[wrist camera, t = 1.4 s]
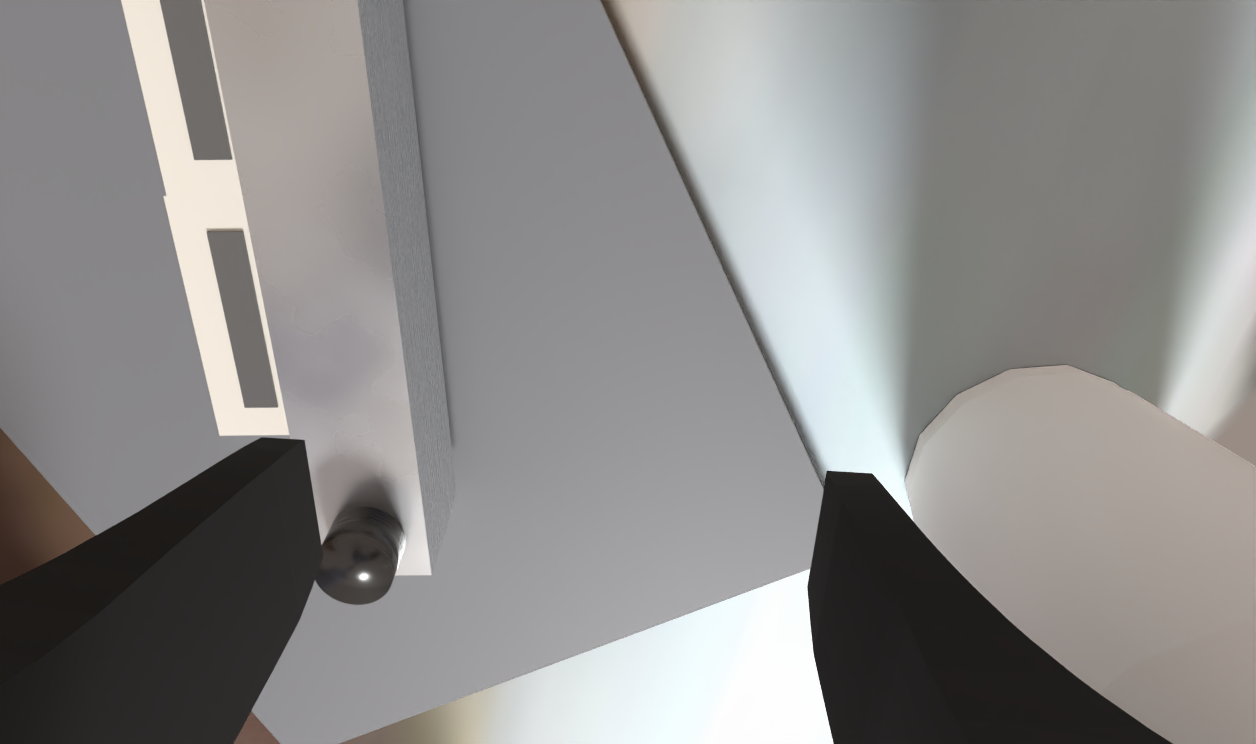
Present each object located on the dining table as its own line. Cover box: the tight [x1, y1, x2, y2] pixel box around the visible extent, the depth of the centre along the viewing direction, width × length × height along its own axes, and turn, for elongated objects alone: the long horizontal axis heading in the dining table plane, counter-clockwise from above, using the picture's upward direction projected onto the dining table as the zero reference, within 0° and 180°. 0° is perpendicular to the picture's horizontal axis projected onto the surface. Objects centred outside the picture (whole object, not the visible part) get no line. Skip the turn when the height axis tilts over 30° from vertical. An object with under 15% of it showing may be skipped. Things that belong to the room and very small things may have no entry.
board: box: [0, 0, 824, 744], centre depth 21 cm, size 18×26×1 cm
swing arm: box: [204, 0, 457, 605], centre depth 16 cm, size 20×4×4 cm, turn 1°
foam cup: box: [905, 365, 1256, 744], centre depth 18 cm, size 10×9×13 cm
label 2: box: [163, 195, 289, 436], centre depth 21 cm, size 6×4×1 cm, turn 1°
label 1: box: [121, 0, 242, 196], centre depth 19 cm, size 6×4×1 cm, turn 1°
